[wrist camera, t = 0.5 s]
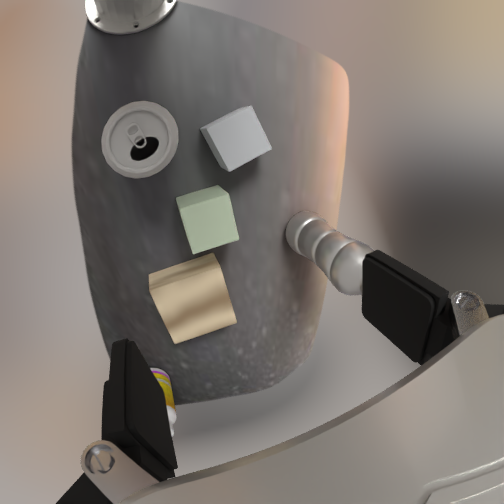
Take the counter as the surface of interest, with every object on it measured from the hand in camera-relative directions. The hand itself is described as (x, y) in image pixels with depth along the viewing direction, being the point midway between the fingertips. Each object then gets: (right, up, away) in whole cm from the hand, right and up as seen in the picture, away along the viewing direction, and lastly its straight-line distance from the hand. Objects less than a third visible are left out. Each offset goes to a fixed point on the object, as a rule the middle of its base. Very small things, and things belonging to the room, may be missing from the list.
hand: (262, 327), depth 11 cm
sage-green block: (-7, +8, +29) cm, 31 cm away
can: (-14, +17, +22) cm, 32 cm away
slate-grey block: (-3, +18, +26) cm, 32 cm away
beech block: (-10, -3, +33) cm, 35 cm away
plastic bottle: (+7, +7, +35) cm, 36 cm away
